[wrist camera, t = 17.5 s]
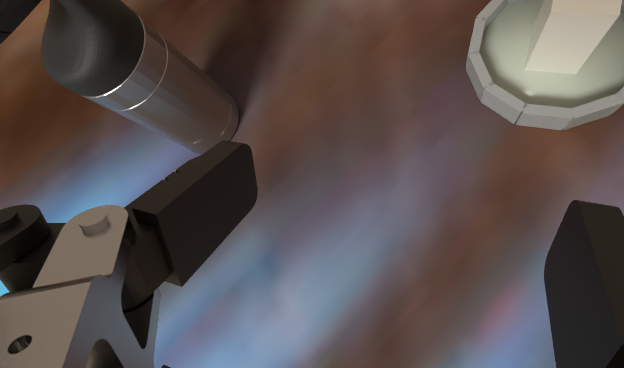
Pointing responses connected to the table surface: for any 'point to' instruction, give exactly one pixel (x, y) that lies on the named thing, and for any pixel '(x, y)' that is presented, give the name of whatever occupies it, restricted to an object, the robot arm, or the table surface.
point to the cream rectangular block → (568, 33)
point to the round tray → (537, 84)
